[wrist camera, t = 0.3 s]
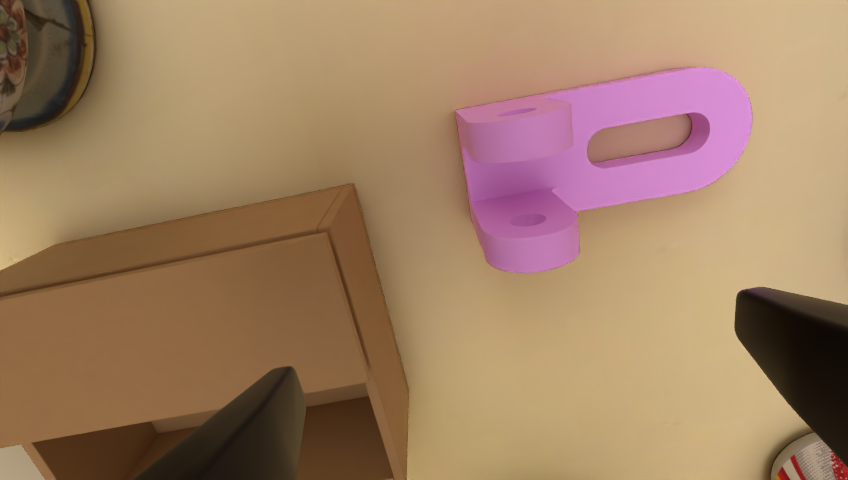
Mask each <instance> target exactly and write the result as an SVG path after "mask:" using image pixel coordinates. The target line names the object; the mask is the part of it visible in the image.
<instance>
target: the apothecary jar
mask: <svg viewBox="0 0 848 480" xmlns="http://www.w3.org/2000/svg"><path fill="white" fill-rule="evenodd" d="M93 60H94V29H93V23H92V18H91V13H90V10H89V6H88V3H87V0H0V135H1V134H2V133H3V132H22V131H29V130H34V129H37V128H40V127H43V126H45V125H48V124H50V123H52V122H54V121H56V120H57V119H59V118H61V117H62V116H63V115H65V114H66V113H67V112H68V111H69V110H70V109H71V108H72V107H73V106H74V105H75V104H76V103H77V101H78V100H79V98H80V97H81V95H82V93H83V92H84V90H85V87H86V85H87V83H88V80H89V76H90V73H91V70H92V66H93Z"/></svg>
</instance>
